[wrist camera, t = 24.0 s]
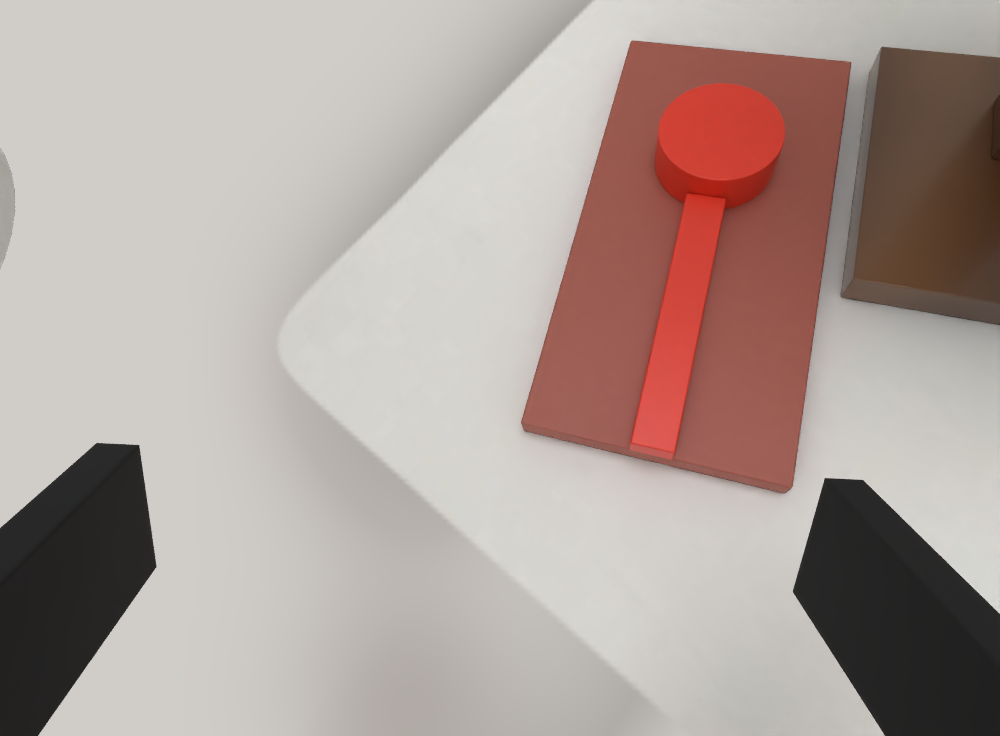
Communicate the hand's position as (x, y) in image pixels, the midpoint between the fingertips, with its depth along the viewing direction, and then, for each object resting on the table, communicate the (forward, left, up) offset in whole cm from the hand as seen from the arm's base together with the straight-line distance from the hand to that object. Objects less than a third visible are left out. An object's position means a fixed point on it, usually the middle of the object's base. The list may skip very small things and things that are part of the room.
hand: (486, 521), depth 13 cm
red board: (+3, +15, -12) cm, 20 cm away
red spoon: (+3, +13, -11) cm, 18 cm away
